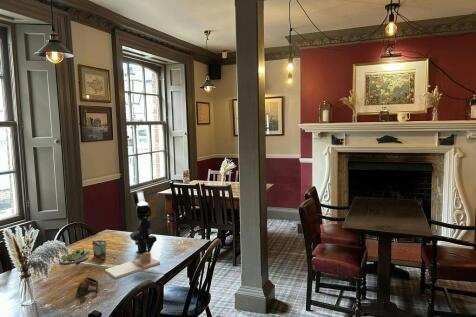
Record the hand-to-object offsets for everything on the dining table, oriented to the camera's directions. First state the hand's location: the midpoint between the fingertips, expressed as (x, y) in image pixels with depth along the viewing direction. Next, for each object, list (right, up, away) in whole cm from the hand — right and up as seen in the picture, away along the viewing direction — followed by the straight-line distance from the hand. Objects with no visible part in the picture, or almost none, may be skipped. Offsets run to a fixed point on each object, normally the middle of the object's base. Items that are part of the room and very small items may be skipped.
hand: (145, 250), depth 206 cm
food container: (-31, -8, +13) cm, 35 cm away
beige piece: (0, -8, +1) cm, 8 cm away
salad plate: (-48, -9, +12) cm, 51 cm away
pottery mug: (-19, -12, -35) cm, 42 cm away
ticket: (-10, -9, -9) cm, 16 cm away
